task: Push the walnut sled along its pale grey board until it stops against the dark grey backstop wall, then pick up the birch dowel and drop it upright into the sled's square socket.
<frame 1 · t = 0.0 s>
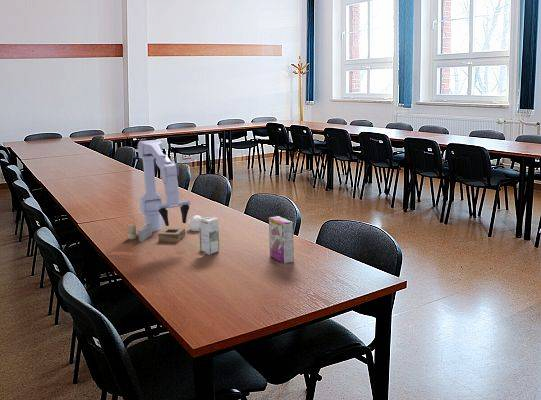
hand: (175, 224, 235), 11 cm above the table, tool pointing down, fingers open, 7 cm apart
syrup box: (210, 252, 231), on the table
backstop board: (141, 240, 251), on the table
candy bar box: (281, 259, 220), on the table
birch dowel: (132, 240, 250), on the table
walnut sled: (172, 234, 247), point 3 cm above the table, slide at 7.0 cm
motion sensor: (197, 232, 262), on the table
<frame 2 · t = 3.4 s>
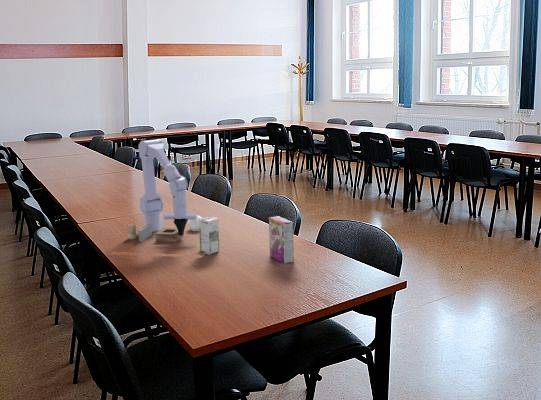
hand: (181, 235, 247), 3 cm above the table, tool pointing down, fingers closed
walnut sled: (169, 234, 248), point 3 cm above the table, slide at 5.8 cm, touching gripper
everything else where it was.
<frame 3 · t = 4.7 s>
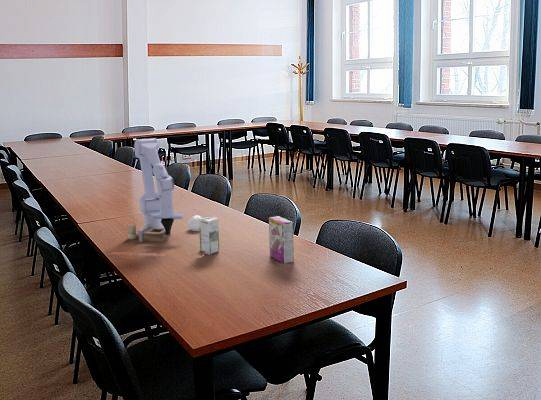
hand: (168, 234, 248), 3 cm above the table, tool pointing down, fingers closed
walnut sled: (156, 234, 249), point 3 cm above the table, slide at -0.1 cm, touching gripper
everything else where it was.
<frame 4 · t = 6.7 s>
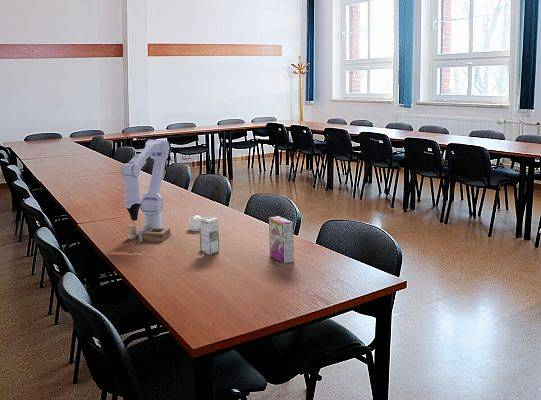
hand: (134, 220, 248), 9 cm above the table, tool pointing down, fingers closed
walnut sled: (157, 234, 249), point 3 cm above the table, slide at 0.0 cm
everything else where it was.
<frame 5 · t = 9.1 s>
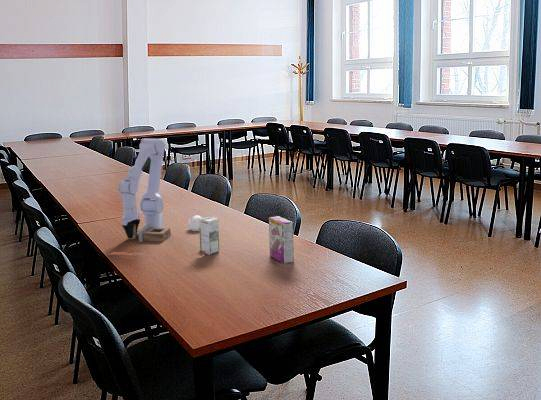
hand: (132, 236, 250), 2 cm above the table, tool pointing down, fingers closed on birch dowel, 4 cm apart
birch dowel: (132, 240, 250), on the table, touching gripper
everything else where it was.
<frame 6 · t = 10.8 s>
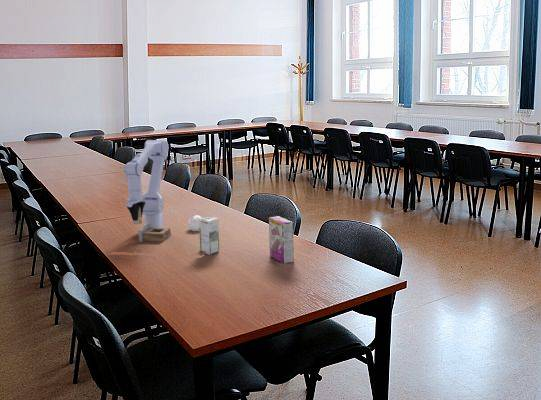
hand: (137, 219, 248), 10 cm above the table, tool pointing down, fingers closed on birch dowel, 4 cm apart
birch dowel: (137, 223, 248), point 8 cm above the table, touching gripper
everything else where it was.
when the fingers open (5 cm above the table, at t = 12.8 s): birch dowel drops 2 cm, resting on walnut sled.
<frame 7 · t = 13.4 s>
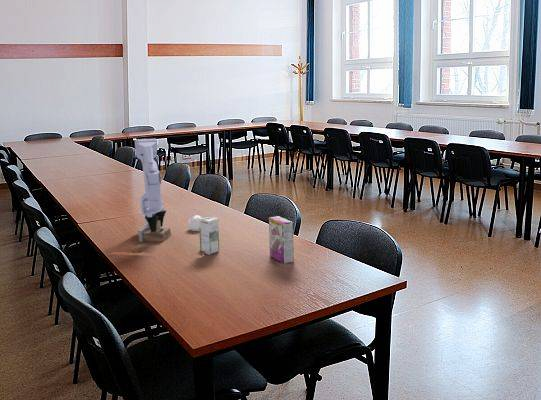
hand: (156, 228, 248), 5 cm above the table, tool pointing down, fingers open, 7 cm apart
birch dowel: (157, 236, 249), point 2 cm above the table, touching walnut sled
walnut sled: (157, 234, 249), point 3 cm above the table, slide at 0.0 cm, touching birch dowel
everything else where it was.
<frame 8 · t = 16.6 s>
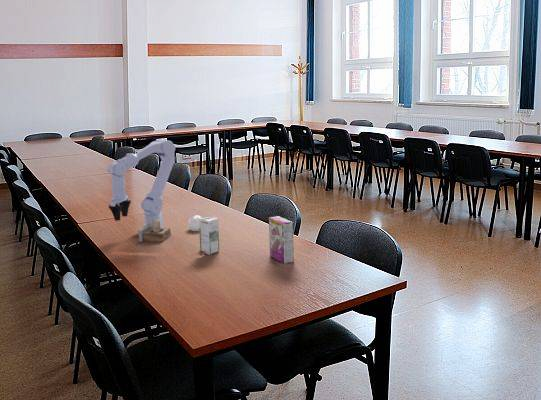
hand: (121, 218, 252), 9 cm above the table, tool pointing down, fingers open, 7 cm apart
nothing on the table moved.
at the end: walnut sled slide at 0.0 cm; birch dowel 0.0 cm off-centre on the walnut sled, point 1.0 cm above the walnut sled's base; birch dowel tilted 0° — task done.
